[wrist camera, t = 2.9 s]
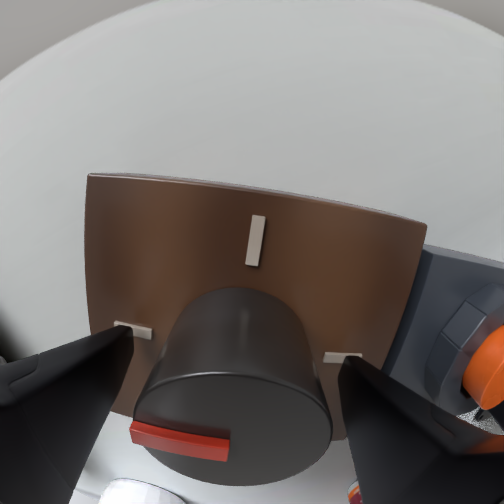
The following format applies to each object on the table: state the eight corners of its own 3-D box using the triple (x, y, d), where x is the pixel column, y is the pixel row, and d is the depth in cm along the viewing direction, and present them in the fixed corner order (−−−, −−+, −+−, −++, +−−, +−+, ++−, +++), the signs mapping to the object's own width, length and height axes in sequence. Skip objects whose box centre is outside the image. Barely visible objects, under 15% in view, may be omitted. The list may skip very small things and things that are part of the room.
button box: (517, 266, 11) (559, 287, 8) (473, 375, 13) (502, 408, 9) (403, 239, 11) (459, 266, 7) (354, 387, 13) (378, 441, 9)
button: (521, 323, 8) (542, 339, 7) (491, 384, 9) (507, 402, 7) (484, 324, 8) (509, 344, 6) (449, 393, 9) (467, 417, 7)
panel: (389, 212, 11) (431, 225, 8) (331, 400, 13) (345, 443, 10) (125, 173, 10) (83, 173, 7) (126, 373, 13) (104, 412, 10)
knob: (320, 296, 8) (369, 390, 4) (290, 400, 9) (304, 496, 5) (174, 275, 8) (113, 359, 4) (172, 385, 9) (140, 478, 5)
